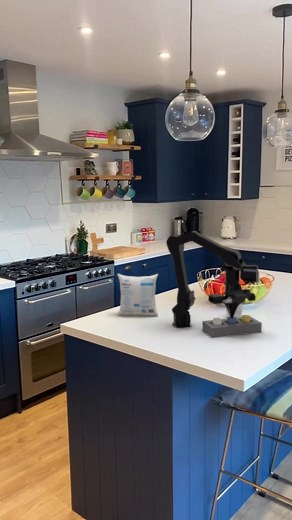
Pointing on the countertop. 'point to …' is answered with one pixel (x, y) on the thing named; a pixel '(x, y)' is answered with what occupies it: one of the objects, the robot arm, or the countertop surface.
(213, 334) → the key block
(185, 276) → the robot arm
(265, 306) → the countertop surface
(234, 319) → the navy key
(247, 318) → the ochre key
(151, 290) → the pouch
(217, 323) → the white key
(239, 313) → the white cup
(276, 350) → the countertop surface
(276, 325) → the countertop surface
